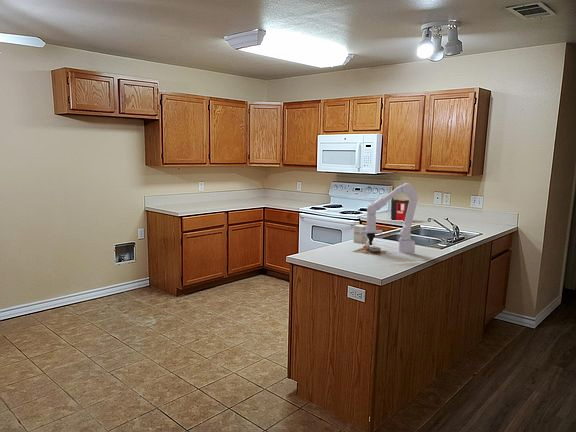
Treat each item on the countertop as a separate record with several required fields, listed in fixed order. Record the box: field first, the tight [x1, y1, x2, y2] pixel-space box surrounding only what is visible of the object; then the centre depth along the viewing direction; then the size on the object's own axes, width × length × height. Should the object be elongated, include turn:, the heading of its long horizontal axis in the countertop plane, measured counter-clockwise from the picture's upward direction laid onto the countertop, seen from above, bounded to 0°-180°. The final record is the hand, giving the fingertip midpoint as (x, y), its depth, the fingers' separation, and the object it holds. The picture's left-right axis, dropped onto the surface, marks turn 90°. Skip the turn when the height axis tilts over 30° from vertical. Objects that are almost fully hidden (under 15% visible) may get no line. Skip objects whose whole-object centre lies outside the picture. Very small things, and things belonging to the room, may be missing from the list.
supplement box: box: [353, 224, 369, 245], centre depth 305 cm, size 7×7×13 cm
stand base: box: [352, 247, 389, 257], centre depth 274 cm, size 18×15×1 cm
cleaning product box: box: [390, 198, 410, 221], centre depth 406 cm, size 16×9×20 cm, turn 65°
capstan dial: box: [362, 241, 382, 253], centre depth 275 cm, size 14×7×5 cm, turn 31°
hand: (370, 244), depth 278 cm, fingers closed
